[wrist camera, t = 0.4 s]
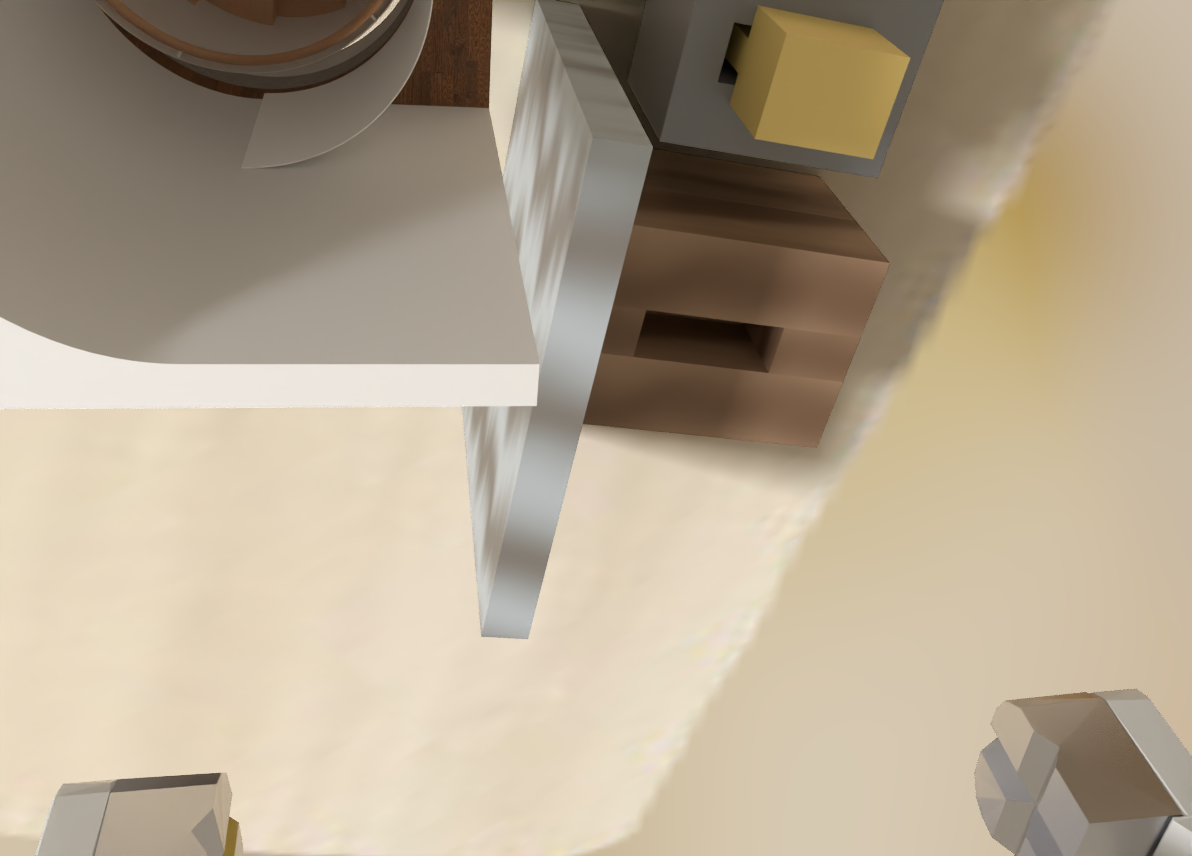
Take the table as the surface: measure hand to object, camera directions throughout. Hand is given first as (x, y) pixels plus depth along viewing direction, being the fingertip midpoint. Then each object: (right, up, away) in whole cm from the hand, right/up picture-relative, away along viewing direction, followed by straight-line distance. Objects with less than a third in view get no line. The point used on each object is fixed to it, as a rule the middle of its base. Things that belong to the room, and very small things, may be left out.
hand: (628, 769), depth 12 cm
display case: (-12, +28, +33) cm, 45 cm away
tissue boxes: (+3, +13, +46) cm, 48 cm away
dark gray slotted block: (+7, +23, +40) cm, 47 cm away
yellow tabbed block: (+7, +21, +37) cm, 43 cm away
